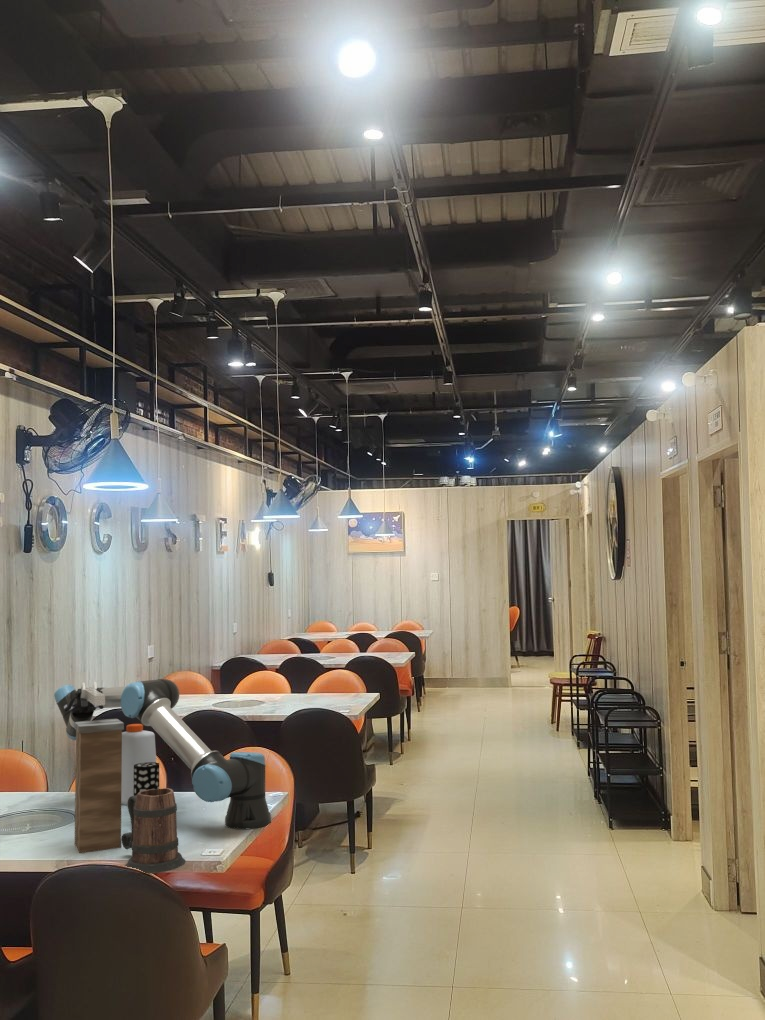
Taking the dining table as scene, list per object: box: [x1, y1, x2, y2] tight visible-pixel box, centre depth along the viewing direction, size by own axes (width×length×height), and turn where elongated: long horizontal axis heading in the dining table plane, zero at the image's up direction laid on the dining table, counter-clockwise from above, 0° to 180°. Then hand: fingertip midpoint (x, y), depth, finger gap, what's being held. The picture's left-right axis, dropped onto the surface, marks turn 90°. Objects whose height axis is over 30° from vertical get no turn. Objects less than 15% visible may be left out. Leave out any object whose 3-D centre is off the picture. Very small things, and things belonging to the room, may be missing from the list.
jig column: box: [74, 718, 125, 854], centre depth 264 cm, size 13×13×37 cm
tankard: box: [121, 787, 186, 875], centre depth 244 cm, size 24×17×20 cm
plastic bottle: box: [121, 723, 157, 806], centre depth 323 cm, size 15×15×28 cm
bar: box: [83, 686, 105, 706], centre depth 279 cm, size 32×3×3 cm, turn 26°
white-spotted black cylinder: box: [134, 761, 160, 796], centre depth 284 cm, size 8×8×20 cm
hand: (89, 685), depth 286 cm, fingers closed on bar, 3 cm apart
